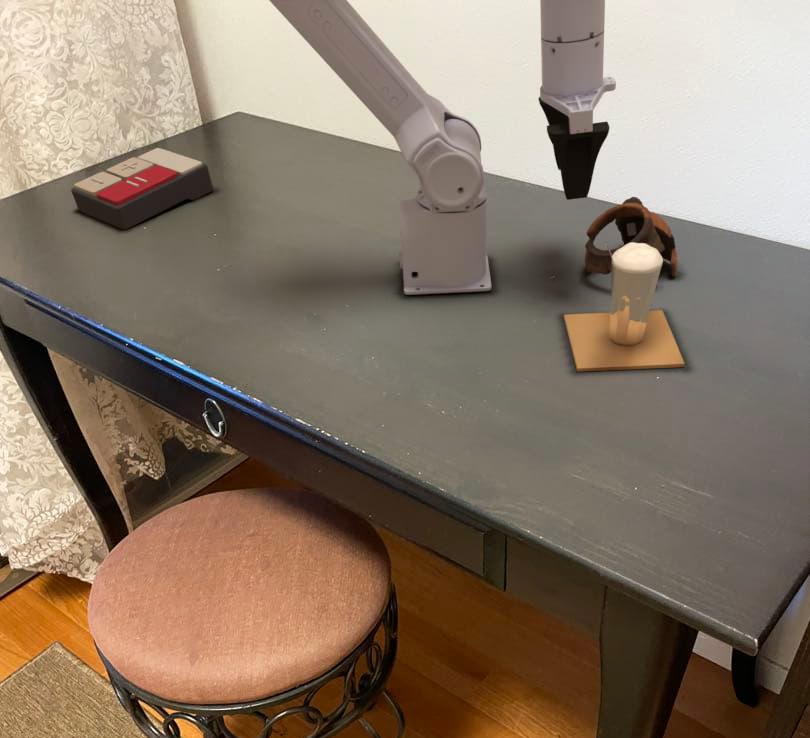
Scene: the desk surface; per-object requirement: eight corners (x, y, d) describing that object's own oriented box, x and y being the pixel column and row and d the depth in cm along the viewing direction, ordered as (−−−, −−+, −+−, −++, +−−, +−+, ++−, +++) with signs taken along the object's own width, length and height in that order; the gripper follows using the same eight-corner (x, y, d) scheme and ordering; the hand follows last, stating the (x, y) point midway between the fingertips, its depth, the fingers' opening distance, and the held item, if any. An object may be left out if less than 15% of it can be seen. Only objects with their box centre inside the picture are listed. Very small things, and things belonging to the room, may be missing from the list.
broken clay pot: (689, 294, 90) (666, 238, 84) (603, 324, 94) (575, 274, 88) (676, 218, 96) (654, 162, 90) (596, 251, 100) (570, 199, 94)
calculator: (67, 183, 111) (157, 142, 118) (79, 215, 114) (166, 173, 122) (114, 202, 106) (206, 158, 113) (126, 235, 109) (215, 190, 116)
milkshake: (589, 328, 84) (599, 231, 77) (642, 323, 85) (657, 226, 78) (600, 352, 81) (612, 253, 74) (655, 347, 81) (672, 248, 74)
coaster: (576, 371, 80) (577, 368, 80) (563, 317, 87) (563, 314, 87) (684, 367, 79) (684, 363, 79) (661, 313, 86) (662, 309, 86)
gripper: (629, 49, 72) (622, 206, 81) (605, 7, 82) (601, 150, 92) (546, 61, 73) (548, 215, 82) (532, 18, 83) (536, 159, 92)
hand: (572, 182), depth 87 cm, fingers open, 7 cm apart
